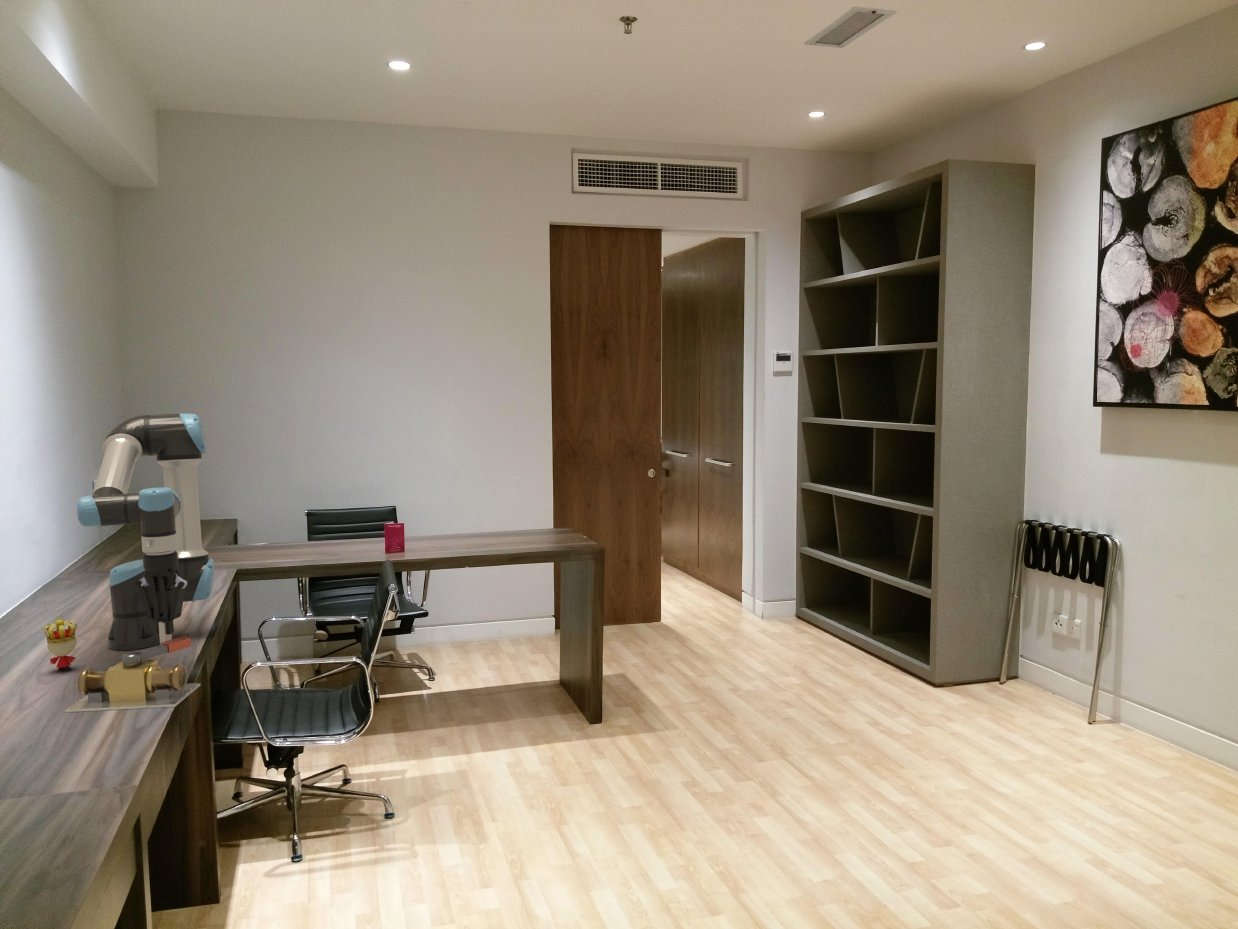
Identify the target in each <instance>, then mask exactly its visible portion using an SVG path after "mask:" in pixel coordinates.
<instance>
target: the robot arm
mask: <svg viewBox="0 0 1238 929" xmlns="http://www.w3.org/2000/svg"><path fill="white" fill-rule="evenodd" d="M102 444H103V445H102V453H103V459H102V463H101V466H100V468H99V472H98V474H97V477H96V478H97V479H96V482H95V485H94V488H93V492H92V495H90V494H89V495H86V496H82V497H80V498H78V500H77V506H76V513H77V519H78V522H79V524H80V525H81V526H82V527H86V528H87V527H96V528H97V527H98V528H100V527H108V526H116V525H117V526H119V525H136V524H140V531H141V532H140V536H141V550H142V552H143V553H144V554H143V555H142V559H137V560H133V561H132V560H131V561H128V562H125V563H122V564H119V565H116V566H114V567H113V568H112V569H111V570H110V571H109V584H108V587H109V590H110V602H111V611H112V621H111V625H110V629H109V633H108V637H107V648H108V649H109V650H113V651H133V650H135V651H136V650H140V649H141V650H143V649H148V648H151V647H154V646H157V645H161V643H162V642H166V641H169V640H172V639H173V635H172V634H173V633H174V632H175V628H174V627H175V625H174V622H175V621H174V620H176V619H178V618H180V617H181V616H182V612H183V606H184V603H189V602H193V603H194V602H196V601H197V602H198V601H203V600H207V599H209V598H210V597H211V595H212V593H213V588H214V581H215V580H214V578H215V560H214V559H213V558H209V552H208V551H207V550H205V549H204V548H203V545H202V544H203V543H202V542H203V540H202V529H201V515H200V502H199V501H200V500H199V498H200V497H199V485H198V472H197V471H198V468H197V466H198V464H200V462H201V461H203V457H202V454H203V455H204V454H206V453H207V452H208V447H207V440H206V436H205V430H204V427H203V423H202V420H201V418H200V416H198V415H197V414H195V413H182V412H180V413H164V414H140V415H135V416H131V417H129V418H127V419H125V420H122V421H121V422H120V423H119V424H117V425H116V426H114V427H113V428H112V429H111V430H110V431H109V433H108V434H107V435H106V436H105V439H104V441H103V443H102ZM147 456H148V457H150V456H151V457H152V456H156V463H158V464H159V465H160V466H161V467H162V469H163V470H162V471H163V482H164V487H163V486H161V487H150V488H145V489H141V490H140V491H139V492H137V493H136V492H135V493H129V489H130V486H131V485H130V484H131V483H132V482H131V481H132V476H133V473H134V469H135V465H136V462H138V460H140V459H141V457H147Z"/></svg>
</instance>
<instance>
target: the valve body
mask: <svg viewBox="0 0 1238 929" xmlns="http://www.w3.org/2000/svg"><path fill="white" fill-rule="evenodd" d="M188 678H189V672H188V667H187V665H186V664H184V663H178V664H176V665H175V666H173V667H168V668H164V667H163V668H162V667H161V665H159V664H158V659H146V660H143V661H142V663H141V664H139V665H135V666H128V667H126V666H123V664H122V661H119V662H118V663H117V664H116V665H113V666H110V667H108V668H107V670H105V671H104V670H103V671H96V670H95V669H94V668H92V667H91V668H84V669H82V670H81V671H80V673H79V676H78V679H77V688H78V690H77V691H78V693H79V694H80V695H81V696H83V697H82V698H80V699H79V700H77V701H76V702H75V703H73V704H71V705H70V706H68V707H66V708H65V709H64V712H65V713H75V712H76V713H77V712H79V713H80V712H93V711H94V712H96V711H99V712H100V711H116V710H119V711H120V710H137V709H153V708H154V709H156V708H174V707H175V708H176V707H177V706H178V705H179V704H180V703H181V702H182V701H184V700H185V699H186V698H187V697H189V696H190V695H191V694H192V693H194V691H196V690H197V689H198V688H199V687H201V683H200V682H195V683H188Z"/></svg>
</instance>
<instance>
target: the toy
mask: <svg viewBox="0 0 1238 929" xmlns="http://www.w3.org/2000/svg"><path fill="white" fill-rule="evenodd" d="M56 617H58V619H57V620H56V622H55V623H52V622H51V623H49V624H47V625H45V626H44V628H43V633H44V635H45V636H46V643H47V649H48V651H49V653H51V655H54V656H55V657H51V658H49V659H50V660H49V663H50V664H52V665H56V666H55V667H56V668H58V669H57V672H58V673H60V672H69V671H71V670H72V669H71V667H70V666H71V665H72V663H76V662H77V660H78V659H77V657H76V656H70V654H72V652H74V650H75V649H76V645H77V640H76V630H77V628H78V625H77V623H76V622H75V621H71V620H66V621H64V620H63V619H61V617H63V616H62V615H61V613H58V615H56ZM66 626H67V628H65V627H66ZM54 629H56V630H54ZM46 631H47V632H46ZM56 663H57V664H56Z"/></svg>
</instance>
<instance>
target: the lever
mask: <svg viewBox="0 0 1238 929" xmlns="http://www.w3.org/2000/svg"><path fill="white" fill-rule="evenodd" d="M189 647H192V639H191V637H190V636H189V637H188V636H185V635H182V636H178V637H175V638H172V640H169V641H166V642H162V643H161V645H160V644H158V645H155V646H151V647H147V648H143V649H141V650H138V651H131V652H127V653H123V655H121V662H122V664H123V666H126V667H128V666H135V665H139V664H141V663H142V661H143V660H151V659H152V658H155V657H158V656H162V655H164V654H171V653H174V652H177V651H180V650H184V649H187V648H189Z"/></svg>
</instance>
